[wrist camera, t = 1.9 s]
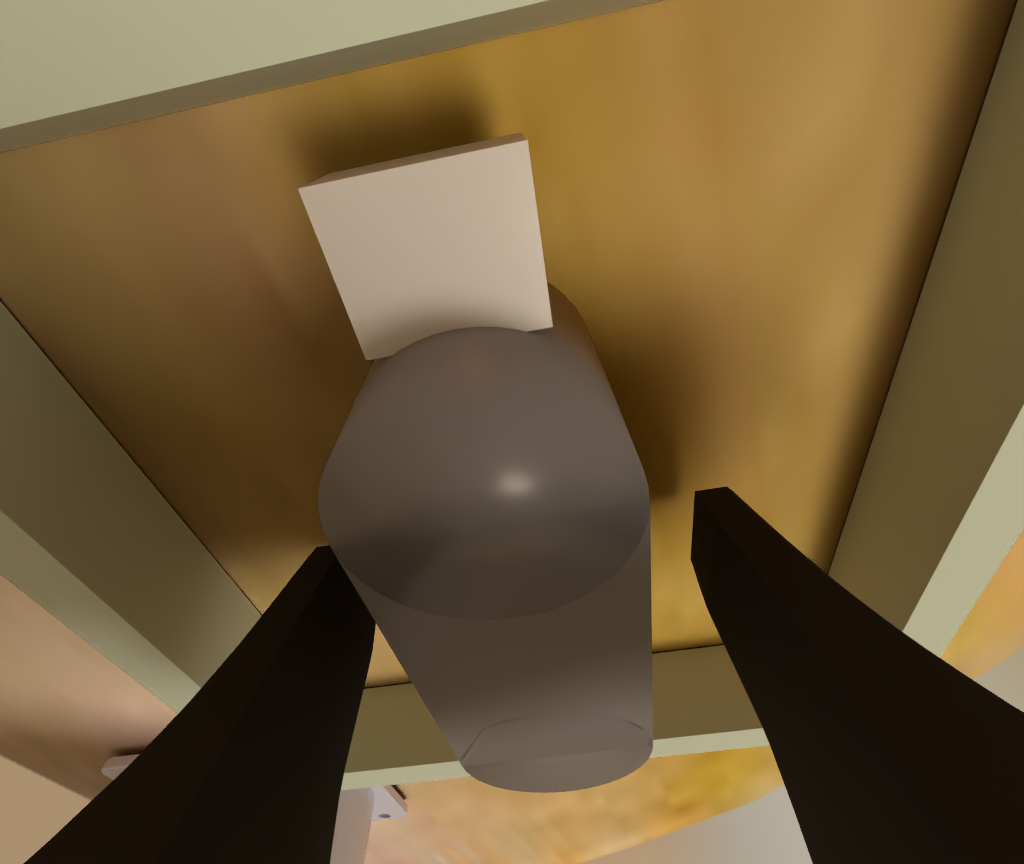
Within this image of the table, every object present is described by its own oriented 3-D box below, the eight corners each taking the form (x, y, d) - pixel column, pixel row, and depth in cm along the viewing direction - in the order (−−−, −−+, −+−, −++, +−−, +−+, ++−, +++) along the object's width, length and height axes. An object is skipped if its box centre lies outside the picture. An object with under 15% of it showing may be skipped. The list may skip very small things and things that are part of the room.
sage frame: (307, 714, 17) (282, 796, 15) (-266, 94, 6) (-608, 94, 4) (839, 650, 15) (890, 732, 13) (1227, -283, 5) (1715, -536, 3)
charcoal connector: (485, 640, 14) (482, 799, 11) (305, 171, 7) (145, 236, 4) (616, 623, 14) (653, 782, 11) (572, 113, 7) (645, 131, 3)
